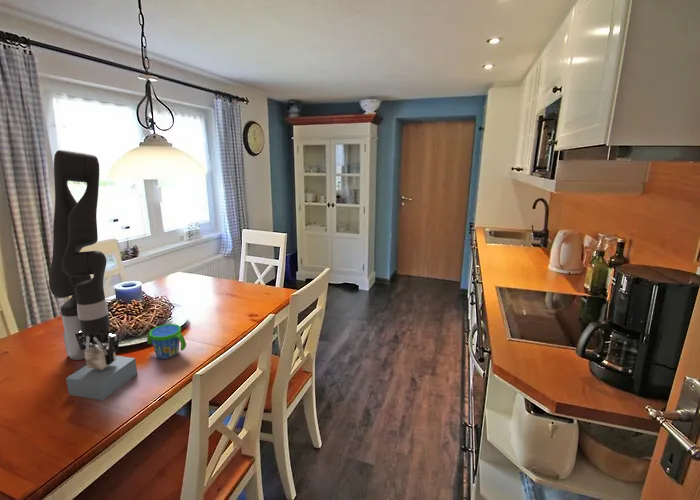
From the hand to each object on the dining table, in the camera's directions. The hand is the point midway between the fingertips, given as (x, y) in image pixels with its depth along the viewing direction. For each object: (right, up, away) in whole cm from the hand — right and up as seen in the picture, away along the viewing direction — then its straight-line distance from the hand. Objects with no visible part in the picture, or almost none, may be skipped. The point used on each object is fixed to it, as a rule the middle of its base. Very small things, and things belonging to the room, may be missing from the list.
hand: (101, 362), depth 112 cm
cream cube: (0, -1, 0) cm, 1 cm away
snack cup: (+11, -4, +20) cm, 23 cm away
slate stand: (0, -8, +2) cm, 8 cm away
